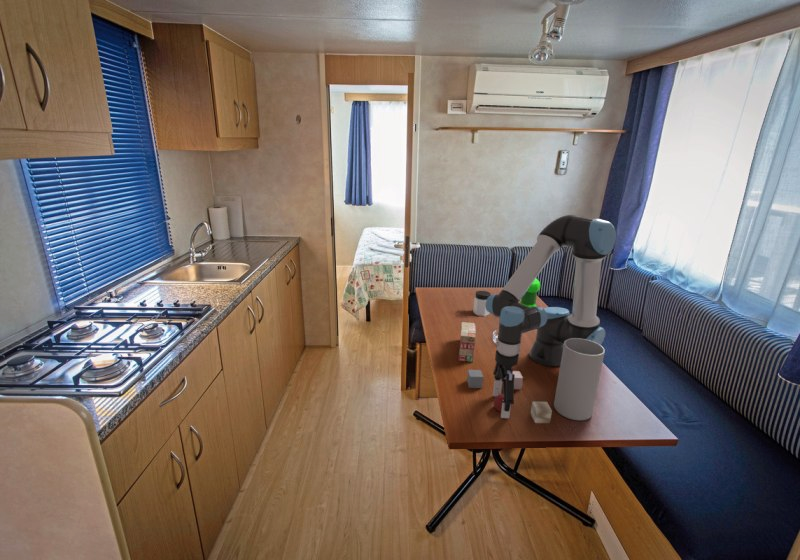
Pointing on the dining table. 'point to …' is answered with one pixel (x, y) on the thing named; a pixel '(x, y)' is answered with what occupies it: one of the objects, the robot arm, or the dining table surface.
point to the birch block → (541, 412)
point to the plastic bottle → (531, 294)
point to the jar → (481, 303)
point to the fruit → (499, 401)
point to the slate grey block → (475, 379)
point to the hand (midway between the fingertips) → (500, 406)
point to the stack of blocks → (467, 342)
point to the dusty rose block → (517, 380)
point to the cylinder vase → (578, 378)
